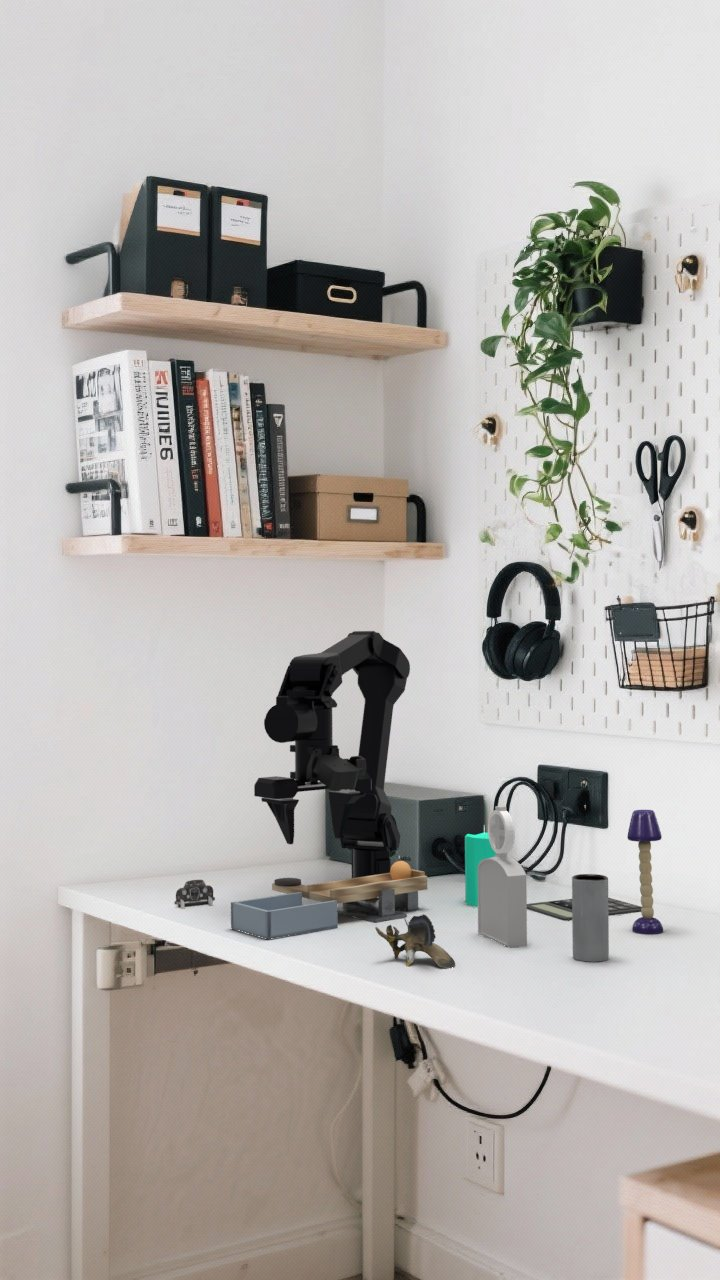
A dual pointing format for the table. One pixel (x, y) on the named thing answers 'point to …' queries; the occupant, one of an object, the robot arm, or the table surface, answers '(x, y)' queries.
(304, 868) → the table surface
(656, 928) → the toy lamp
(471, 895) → the candle
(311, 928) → the tray
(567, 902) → the calculator
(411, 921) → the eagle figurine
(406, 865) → the ball
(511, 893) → the gravestone
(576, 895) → the planter
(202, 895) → the car cutout
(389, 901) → the stand
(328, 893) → the lever
